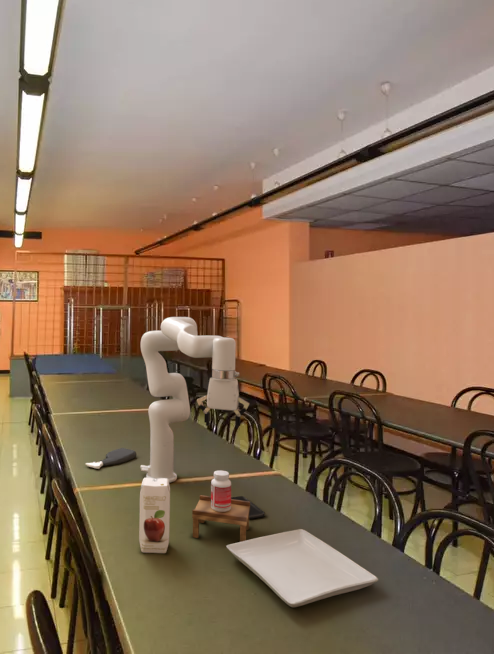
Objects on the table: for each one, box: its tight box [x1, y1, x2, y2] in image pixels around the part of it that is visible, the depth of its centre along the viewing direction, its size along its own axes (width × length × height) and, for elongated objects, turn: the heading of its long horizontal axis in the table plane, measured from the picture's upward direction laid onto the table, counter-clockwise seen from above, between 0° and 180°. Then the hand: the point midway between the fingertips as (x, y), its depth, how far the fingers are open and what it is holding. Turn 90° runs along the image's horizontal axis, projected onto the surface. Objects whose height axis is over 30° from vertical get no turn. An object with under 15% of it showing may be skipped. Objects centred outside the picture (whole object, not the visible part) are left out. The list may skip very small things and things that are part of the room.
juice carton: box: [138, 476, 171, 554], centre depth 128 cm, size 8×9×19 cm
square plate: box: [225, 528, 379, 608], centre depth 116 cm, size 27×27×4 cm
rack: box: [191, 494, 251, 542], centre depth 138 cm, size 16×12×8 cm
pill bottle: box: [210, 469, 232, 512], centre depth 138 cm, size 6×6×11 cm
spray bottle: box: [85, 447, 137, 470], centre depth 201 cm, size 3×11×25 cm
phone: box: [231, 495, 266, 520], centre depth 155 cm, size 8×1×15 cm
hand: (222, 426), depth 149 cm, fingers open, 9 cm apart
